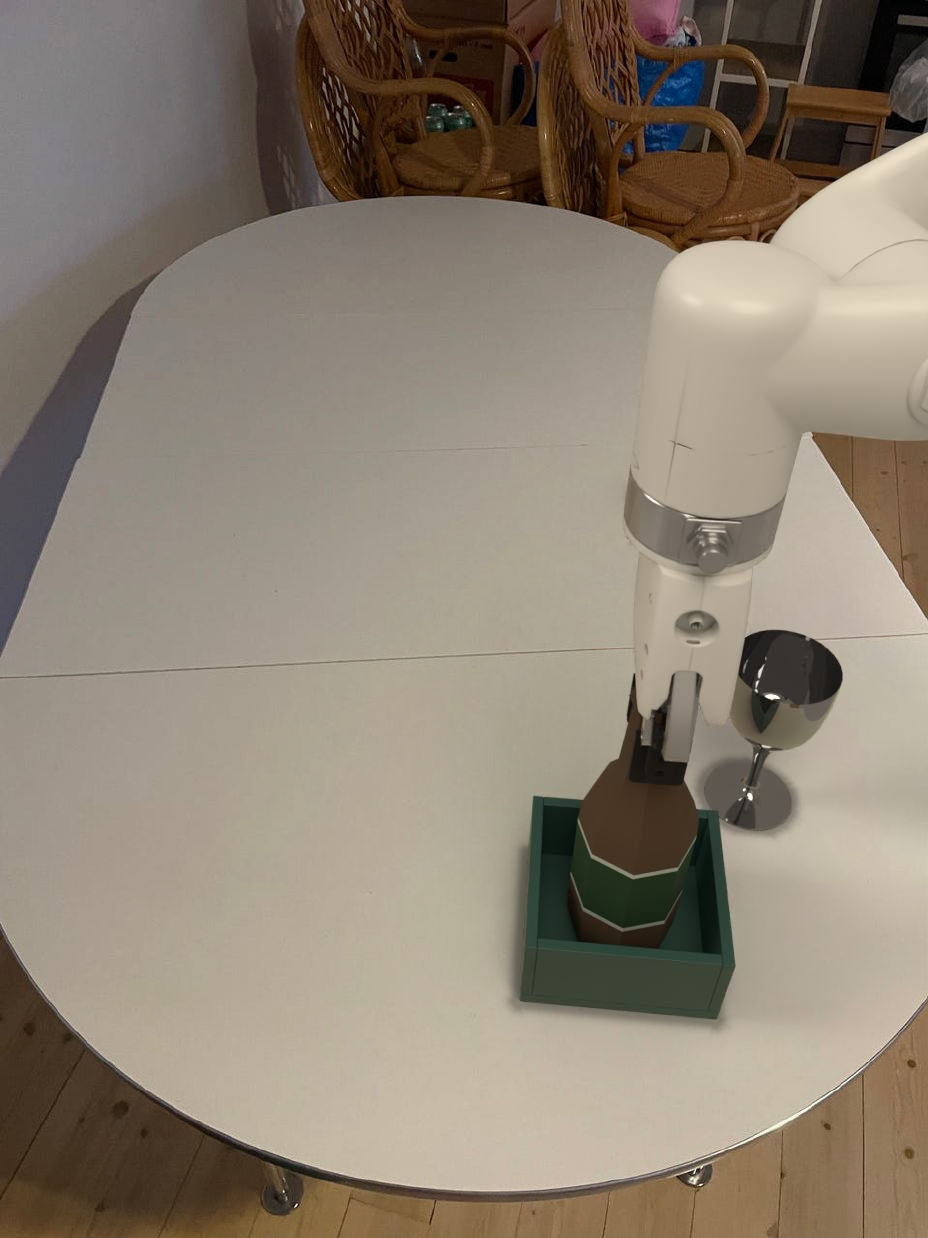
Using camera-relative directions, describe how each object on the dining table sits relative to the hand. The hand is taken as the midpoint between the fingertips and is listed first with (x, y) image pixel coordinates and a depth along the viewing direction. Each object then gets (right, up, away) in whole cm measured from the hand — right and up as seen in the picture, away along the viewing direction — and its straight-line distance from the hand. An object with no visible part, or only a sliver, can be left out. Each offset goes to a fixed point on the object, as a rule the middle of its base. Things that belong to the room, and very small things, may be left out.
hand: (653, 748), depth 63 cm
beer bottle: (0, -14, +13) cm, 19 cm away
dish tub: (0, -15, +13) cm, 20 cm away
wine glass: (+12, -7, +23) cm, 27 cm away
